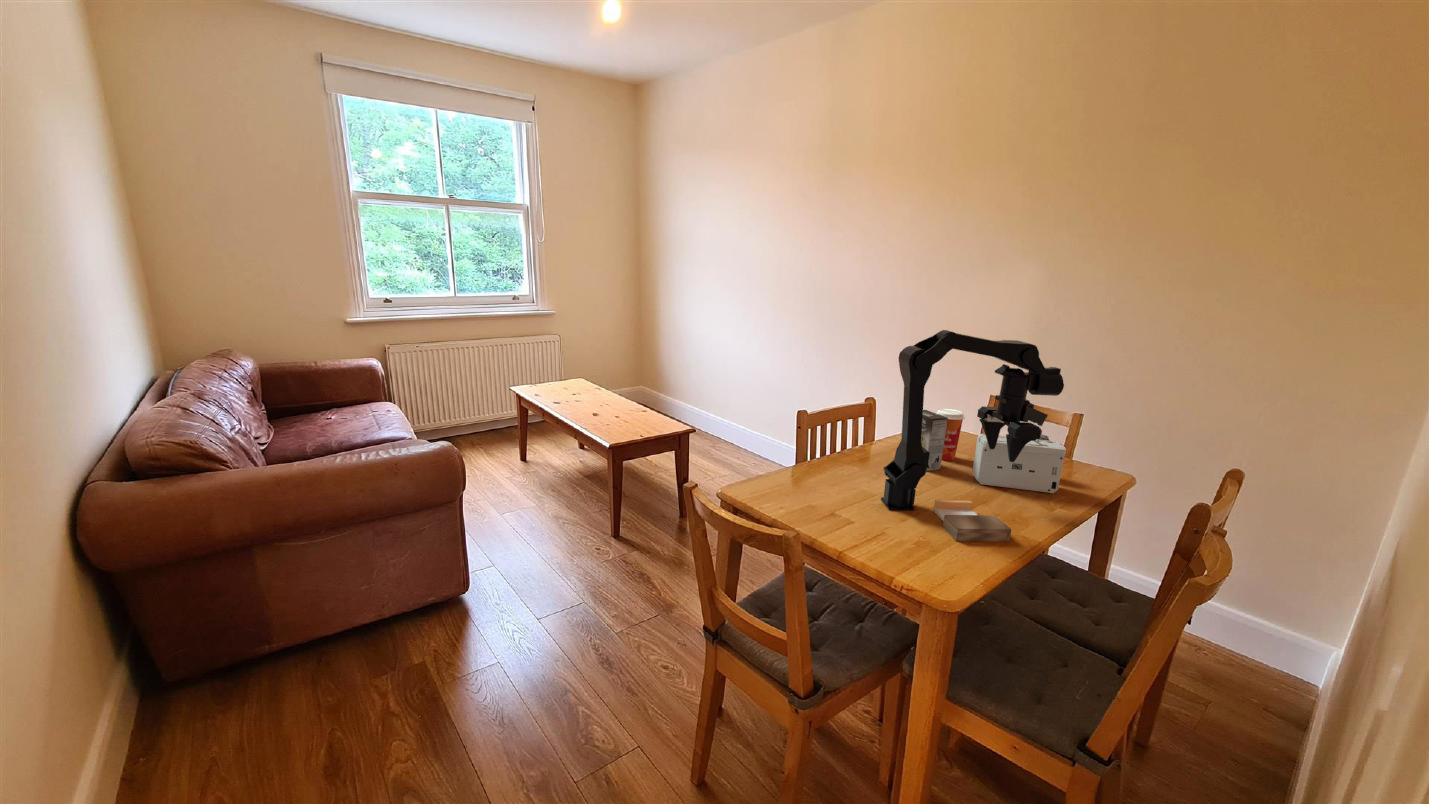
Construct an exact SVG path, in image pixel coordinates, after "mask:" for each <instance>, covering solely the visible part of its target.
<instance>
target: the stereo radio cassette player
mask: <svg viewBox="0 0 1429 804" xmlns="http://www.w3.org/2000/svg"><path fill="white" fill-rule="evenodd" d="M975 447H976V448H975V453H974V459H973V464H972V465H973V466H972V475H973V476H974V478H975V479H976V481H977V482H978V483H979V484H980V485H981V486H983V485H986V486H992V487H993V486H994V487H1002V488H1008V489H1017V490H1025V491H1031V492H1040V493H1041V492H1042V493H1048V494H1051V493H1052V494H1055V492H1057V491H1059V486H1060V483H1061V482H1060V481H1061V476H1062V471H1063V466H1064V465H1063V464H1064V461H1065V456H1066V454H1067V448H1066V447H1065V446H1064V445H1063V443H1062V442H1060V441H1056V440H1050V441H1047V440H1037V439H1036V440H1035V441H1030V442H1028V443H1027V444H1026V445H1025V446H1024V448H1023V449H1022V450H1021V452H1020V454H1019V455H1018V457H1017V458H1016V460H1015V461H1014V462H1010V461H1009V457H1008V448H1007V439H1006V435H999V437H998V440H997V443H996V446H995V449H990V448H989V445H988V442H987V438H986V435H985V433H979V434H978V436H977V440H976V444H975Z"/></svg>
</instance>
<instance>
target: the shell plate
mask: <svg viewBox="0 0 1429 804" xmlns="http://www.w3.org/2000/svg"><path fill="white" fill-rule="evenodd" d="M973 504H974V502H973V501H971V500H940V499H939V500H934V503H933V512H934V513H935V514H936V515H937V516H938V518H940V520H942V521H944V515H978V514H977V512H975V511H974V510H973V509H972V508H973Z"/></svg>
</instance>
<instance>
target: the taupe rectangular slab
mask: <svg viewBox="0 0 1429 804" xmlns="http://www.w3.org/2000/svg"><path fill="white" fill-rule="evenodd" d="M942 521H943V520H942ZM942 528H943V529H944V530H945V531H946V532H947V533H948V534H949V535H950V536H951V537H952V539H954V540H955V542H1004V543H1006V542H1008V543H1009V542H1010V540H1011V533H1012V528H1011V527H1010V526H1008V525H1007V523H1005V522H1004V521H1002V520H1001V519H1000V518H999V517H998V516H997V515H992V514H991V515H990V514H989V515H986V514H985V515H984V514H983V515H981V514H977V515H944V521H943V523H942Z"/></svg>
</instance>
